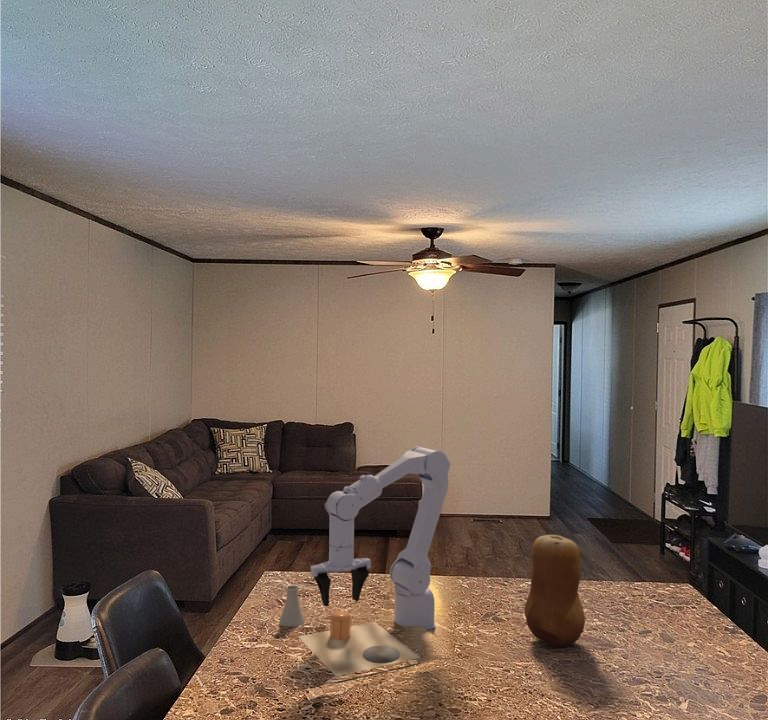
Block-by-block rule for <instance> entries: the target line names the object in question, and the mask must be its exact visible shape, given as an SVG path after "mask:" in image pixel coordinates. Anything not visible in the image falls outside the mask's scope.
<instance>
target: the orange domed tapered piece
mask: <svg viewBox="0 0 768 720" xmlns="http://www.w3.org/2000/svg"><path fill="white" fill-rule="evenodd" d="M351 621H352V619H351V613H350V612H348V611H344V610H339V611H334V612H331V614H330V619H329V623H330V624H329V625H330V627H329V628H330V629H329V631H330V637H331V638H332V639H335V640H344V639H348V638H349V637H350V627H351Z"/></svg>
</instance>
